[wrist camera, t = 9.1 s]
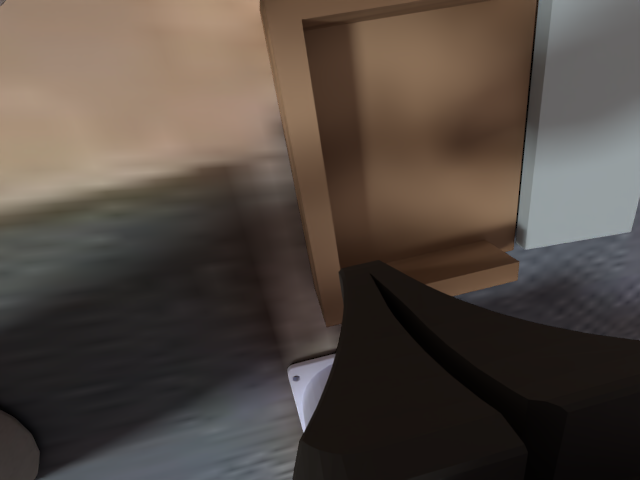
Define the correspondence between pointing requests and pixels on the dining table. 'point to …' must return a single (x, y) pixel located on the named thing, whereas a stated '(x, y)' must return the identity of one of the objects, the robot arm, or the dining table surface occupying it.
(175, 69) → the dining table surface
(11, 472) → the canister
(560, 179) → the cabinet door
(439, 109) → the brown shallow open box
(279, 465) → the dining table surface
